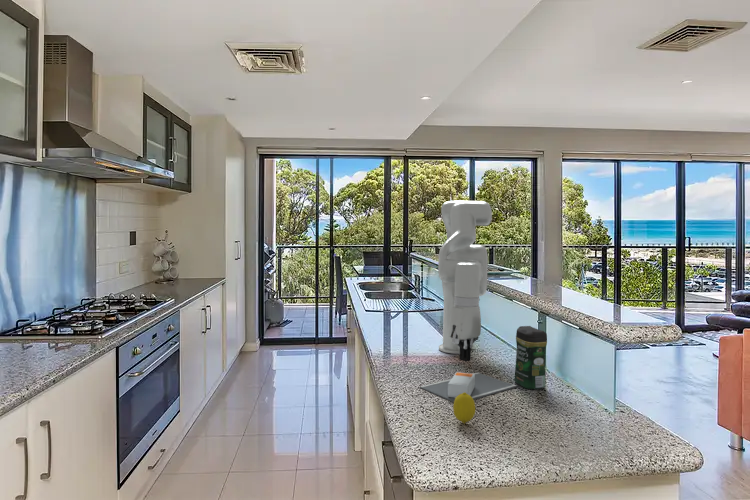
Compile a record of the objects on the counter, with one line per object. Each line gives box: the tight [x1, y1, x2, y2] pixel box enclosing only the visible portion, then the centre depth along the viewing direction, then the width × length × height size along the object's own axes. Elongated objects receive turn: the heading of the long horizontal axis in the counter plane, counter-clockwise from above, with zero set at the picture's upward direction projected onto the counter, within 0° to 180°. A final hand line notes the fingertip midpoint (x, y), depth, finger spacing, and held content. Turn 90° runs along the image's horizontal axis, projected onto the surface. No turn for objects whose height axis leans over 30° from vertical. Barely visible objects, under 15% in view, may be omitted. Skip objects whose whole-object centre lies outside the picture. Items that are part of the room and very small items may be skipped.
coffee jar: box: [513, 325, 548, 391], centre depth 152 cm, size 10×8×19 cm
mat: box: [419, 372, 518, 404], centre depth 149 cm, size 26×16×1 cm, turn 126°
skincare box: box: [448, 371, 475, 398], centre depth 144 cm, size 6×4×12 cm
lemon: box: [452, 392, 476, 424], centre depth 122 cm, size 6×6×8 cm
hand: (464, 360), depth 150 cm, fingers closed
